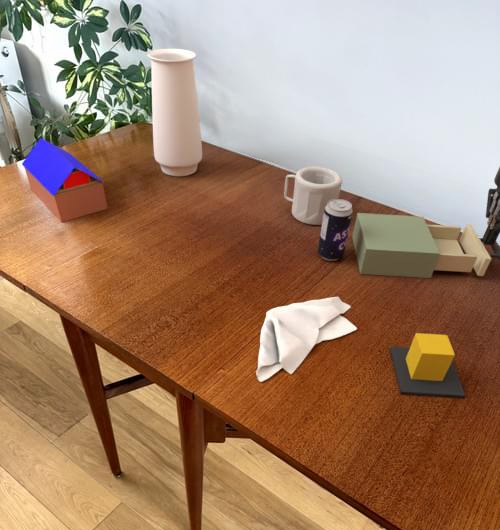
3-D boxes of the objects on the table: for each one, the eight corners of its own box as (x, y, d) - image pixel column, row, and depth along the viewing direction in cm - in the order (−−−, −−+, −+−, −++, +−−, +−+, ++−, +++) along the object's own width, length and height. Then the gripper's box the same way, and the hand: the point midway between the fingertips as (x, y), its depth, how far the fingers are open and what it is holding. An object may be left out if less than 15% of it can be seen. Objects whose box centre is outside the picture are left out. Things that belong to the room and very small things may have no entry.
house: (60, 223, 105) (47, 173, 97) (29, 189, 116) (15, 142, 109) (109, 208, 111) (100, 161, 103) (75, 178, 122) (65, 133, 114)
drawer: (484, 242, 105) (491, 225, 102) (505, 277, 95) (514, 260, 92) (405, 237, 105) (410, 220, 102) (417, 272, 95) (424, 254, 92)
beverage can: (329, 265, 97) (339, 214, 89) (311, 253, 101) (319, 202, 92) (348, 257, 100) (360, 206, 92) (330, 245, 103) (340, 195, 95)
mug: (341, 211, 115) (348, 172, 108) (326, 230, 108) (333, 190, 101) (291, 197, 119) (295, 159, 112) (273, 215, 112) (277, 175, 105)
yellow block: (435, 360, 77) (447, 334, 73) (442, 381, 74) (455, 355, 70) (405, 359, 77) (415, 332, 73) (411, 379, 74) (422, 353, 70)
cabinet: (415, 240, 106) (423, 216, 102) (430, 278, 96) (440, 253, 91) (352, 236, 106) (357, 212, 102) (360, 274, 96) (366, 248, 91)
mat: (447, 352, 80) (448, 350, 79) (464, 398, 72) (465, 395, 72) (389, 349, 80) (390, 346, 79) (400, 394, 72) (401, 391, 72)
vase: (206, 177, 126) (203, 60, 107) (157, 180, 123) (146, 61, 104) (198, 158, 135) (195, 47, 116) (153, 160, 132) (142, 47, 113)
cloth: (319, 285, 92) (320, 276, 91) (373, 322, 85) (376, 312, 83) (214, 341, 79) (214, 331, 78) (267, 390, 72) (268, 380, 70)
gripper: (560, 179, 81) (516, 262, 93) (530, 149, 90) (494, 228, 102) (518, 176, 81) (479, 259, 93) (492, 147, 90) (460, 225, 102)
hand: (487, 242), depth 97 cm, fingers closed
